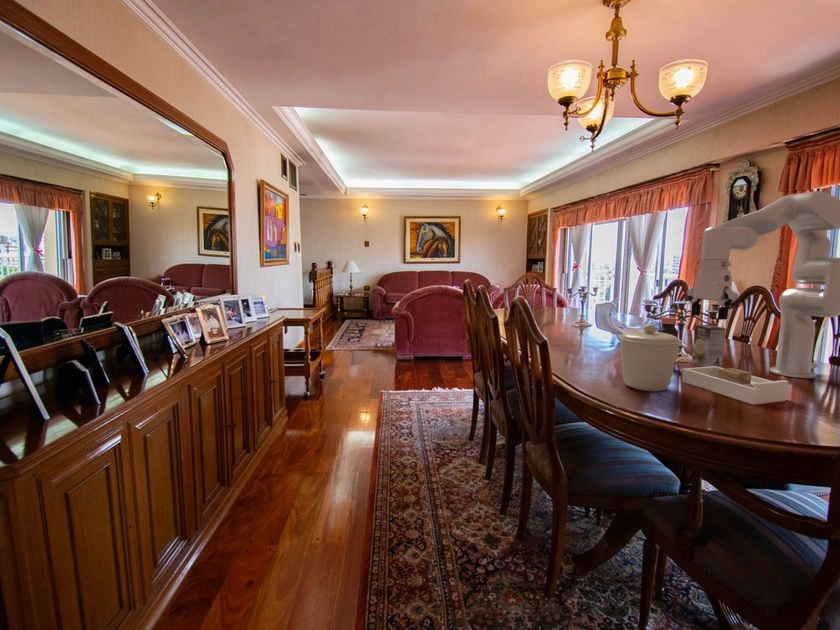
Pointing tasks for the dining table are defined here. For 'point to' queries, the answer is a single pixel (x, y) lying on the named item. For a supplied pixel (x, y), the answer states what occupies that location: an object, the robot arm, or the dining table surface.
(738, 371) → the walnut block
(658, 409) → the dining table surface
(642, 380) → the canister
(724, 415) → the dining table surface
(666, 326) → the bottle
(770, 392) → the box
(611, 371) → the dining table surface
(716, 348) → the coffee box
